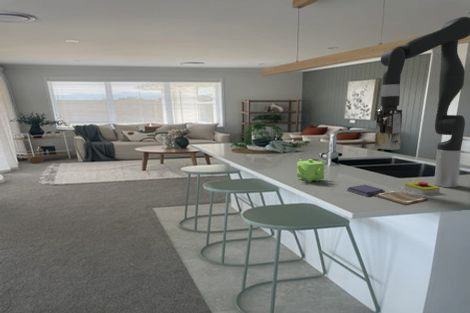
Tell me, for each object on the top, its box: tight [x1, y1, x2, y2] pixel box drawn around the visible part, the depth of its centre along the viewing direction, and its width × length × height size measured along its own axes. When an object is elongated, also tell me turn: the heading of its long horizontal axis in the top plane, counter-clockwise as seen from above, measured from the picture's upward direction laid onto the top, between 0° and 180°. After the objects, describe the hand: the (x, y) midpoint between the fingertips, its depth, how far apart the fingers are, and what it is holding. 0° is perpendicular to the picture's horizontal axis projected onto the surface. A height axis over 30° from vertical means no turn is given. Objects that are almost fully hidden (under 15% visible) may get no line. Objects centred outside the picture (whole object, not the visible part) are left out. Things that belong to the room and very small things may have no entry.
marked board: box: [374, 190, 429, 206], centre depth 129 cm, size 14×14×1 cm
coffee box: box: [374, 112, 403, 151], centre depth 141 cm, size 9×6×16 cm
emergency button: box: [400, 181, 443, 197], centre depth 140 cm, size 9×4×15 cm
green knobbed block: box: [296, 158, 326, 183], centre depth 163 cm, size 15×14×11 cm
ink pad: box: [346, 184, 386, 197], centre depth 139 cm, size 11×11×2 cm
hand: (388, 132), depth 141 cm, fingers closed on coffee box, 6 cm apart
